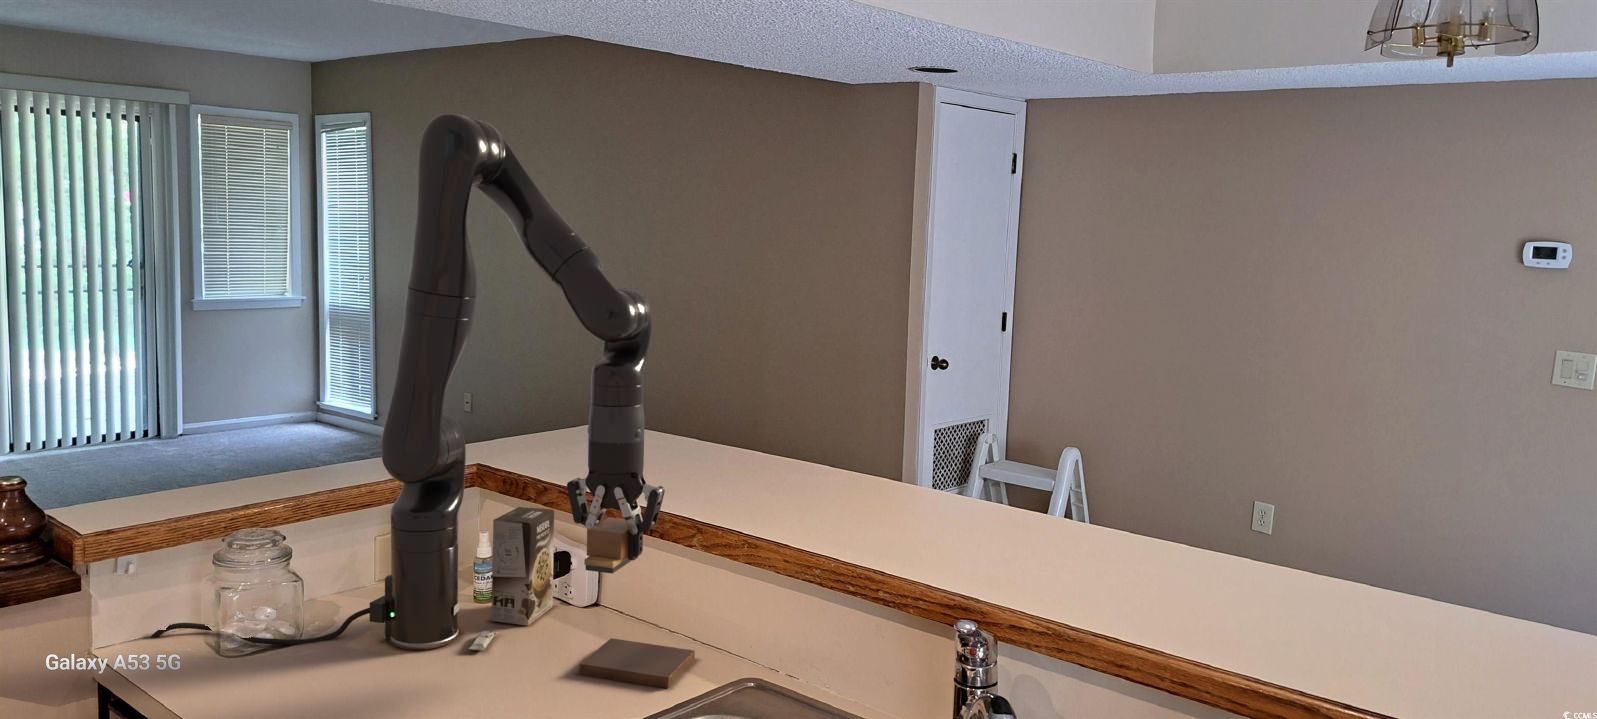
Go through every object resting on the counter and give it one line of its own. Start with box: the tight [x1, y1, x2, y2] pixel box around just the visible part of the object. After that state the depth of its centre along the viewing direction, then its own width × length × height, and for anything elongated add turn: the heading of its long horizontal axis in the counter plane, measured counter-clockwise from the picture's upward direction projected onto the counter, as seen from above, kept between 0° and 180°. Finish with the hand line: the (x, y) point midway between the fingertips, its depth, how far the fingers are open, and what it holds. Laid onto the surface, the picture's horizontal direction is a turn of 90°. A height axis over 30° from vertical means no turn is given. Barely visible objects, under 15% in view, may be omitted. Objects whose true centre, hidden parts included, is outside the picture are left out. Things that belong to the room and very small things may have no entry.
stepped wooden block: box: [584, 516, 643, 575], centre depth 147 cm, size 10×5×5 cm, turn 165°
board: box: [579, 637, 696, 689], centre depth 149 cm, size 13×10×2 cm
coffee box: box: [491, 506, 555, 627], centre depth 166 cm, size 9×6×16 cm
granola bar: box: [468, 630, 498, 651], centre depth 154 cm, size 7×2×1 cm, turn 1°
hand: (614, 555), depth 147 cm, fingers closed on stepped wooden block, 5 cm apart
